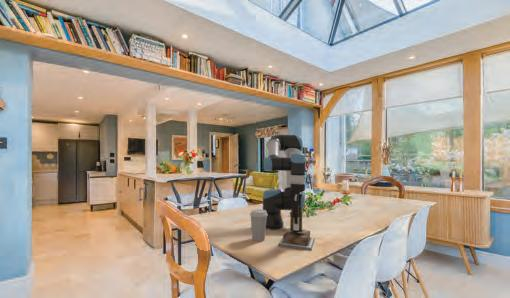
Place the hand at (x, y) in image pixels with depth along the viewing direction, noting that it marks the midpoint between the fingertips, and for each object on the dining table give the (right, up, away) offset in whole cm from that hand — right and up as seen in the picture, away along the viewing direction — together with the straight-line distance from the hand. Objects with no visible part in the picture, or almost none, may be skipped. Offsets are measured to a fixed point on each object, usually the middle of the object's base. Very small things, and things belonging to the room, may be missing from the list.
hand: (297, 228), depth 121 cm
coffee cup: (-20, -7, +3) cm, 22 cm away
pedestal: (0, -7, 0) cm, 7 cm away
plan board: (0, -7, 0) cm, 7 cm away
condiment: (0, -1, -1) cm, 1 cm away
